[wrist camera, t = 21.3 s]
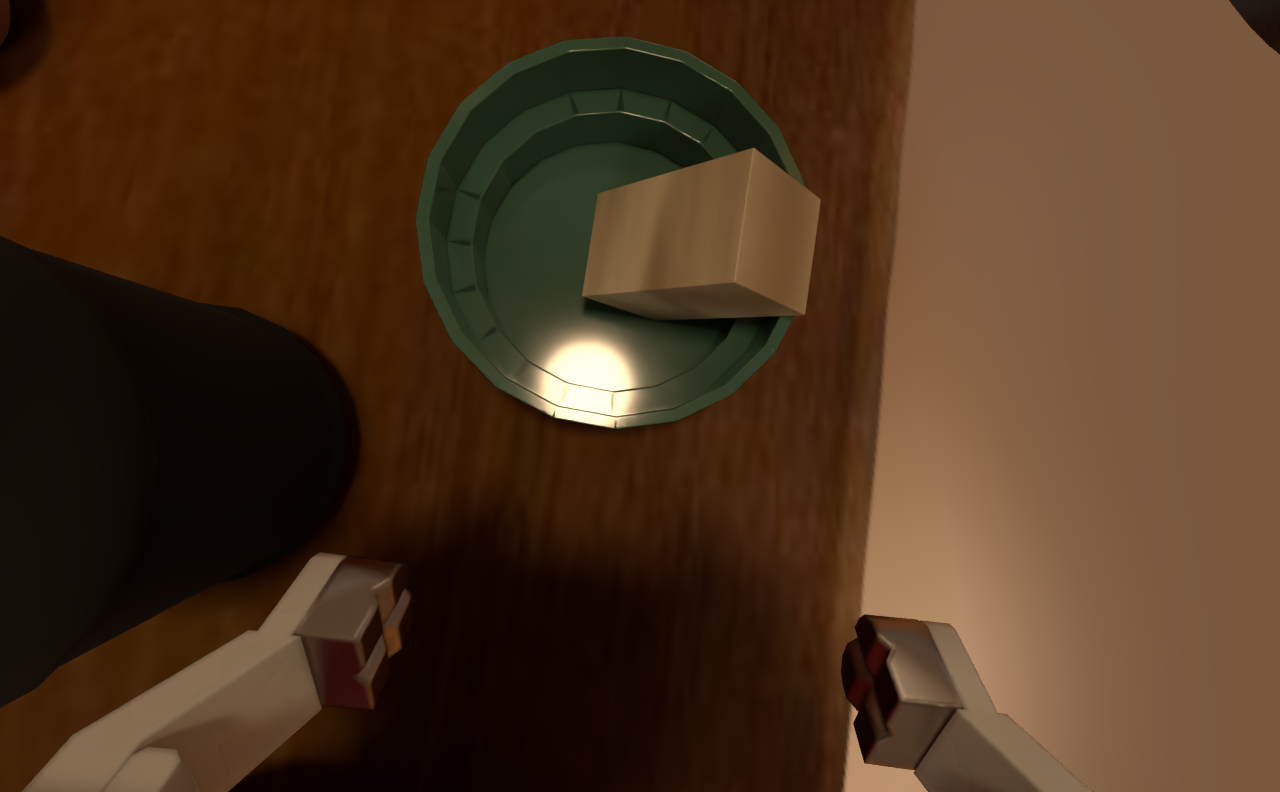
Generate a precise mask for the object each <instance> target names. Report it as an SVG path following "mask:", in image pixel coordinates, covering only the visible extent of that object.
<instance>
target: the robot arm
mask: <svg viewBox="0 0 1280 792" xmlns="http://www.w3.org/2000/svg"><path fill="white" fill-rule="evenodd" d="M409 578H410V575H409V570H408V565H407V564H403V563H397V562H390V561H383V560H375V559H368V558H361V557H354V556H345V555H337V554H330V553H322V552H319V553H318V554H316V555H315V556H313V557H312V558H311V559H310V560H309V561H308V562H307V564H306V565H305V567H304V568H303V569H302V571H301V572H300V573H299V575H298V576H297V577H296V579H295V580H294V582H293V583H292V584H291V586H290V587H289V588H288V590H287V591H286V593H285V594H284V595H283V597H282V598H281V599H280V601H279V602H278V603H277V605H276V606H275V608H274V609H273V610H272V612H271V613H270V614H269V616H268V617H267V619H266V620H265V621H264V623H263V624H262V625H261V627H260V628H259V630H258V631H251V630H248V631H246V632H245V633H243V634H241V635H240V636H238V637H236V638H235V639H233V640H231V641H230V642H228V643H226V644H225V645H223V646H221V647H220V648H218V649H216V650H214V651H213V652H211V653H209V654H208V655H206V656H204V657H203V658H201V659H199V660H198V661H196V662H194V663H193V664H191V665H189V666H188V667H186V668H184V669H183V670H181V671H179V672H178V673H176V674H174V675H173V676H171V677H169V678H167V679H166V680H164V681H162V682H161V683H159V684H157V685H156V686H154V687H152V688H151V689H149V690H147V691H146V692H144V693H142V694H141V695H139V696H137V697H136V698H134V699H132V700H131V701H129V702H127V703H126V704H124V705H122V706H121V707H119V708H117V709H115V710H114V711H112V712H110V713H109V714H107V715H105V716H104V717H102V718H100V719H99V720H97V721H95V722H94V723H92V724H90V725H89V726H87V727H85V728H84V729H82V730H80V731H79V732H77V733H75V734H74V735H72V736H71V737H70V738H69V740H68V741H67V742H66V743H65V744H64V745H63V746H62V747H61V749H60V750H59V751H58V752H57V753H56V754H55V755H54V756H53V757H52V759H51V760H50V761H49V762H48V763H47V764H46V765H45V766H44V768H43V769H42V770H41V771H40V772H39V773H38V774H37V775H36V777H35V778H34V779H33V780H32V781H31V782H30V783H29V784H28V786H27V787H26V788H25V789H24V790H23V791H22V792H228V791H229V790H231V789H232V788H233V787H234V786H235V785H236V784H237V783H238V782H240V781H241V780H242V779H243V778H244V777H245V776H246V775H248V774H249V773H250V772H251V771H252V770H253V769H254V768H255V767H257V766H258V765H259V764H260V763H261V762H262V761H263V760H265V759H266V758H267V757H268V756H269V755H270V754H271V753H272V752H274V751H275V750H276V749H277V748H278V747H279V746H280V745H282V744H283V743H284V742H285V741H286V740H287V739H288V738H290V737H291V736H292V735H293V734H294V733H295V732H296V731H297V730H299V729H300V728H301V727H302V726H303V725H304V724H305V723H307V722H308V721H309V720H310V719H311V718H312V717H313V716H314V715H316V714H317V713H318V712H319V711H320V710H321V709H322V706H333V707H345V708H358V709H370V710H374V708H375V705H376V703H377V701H378V699H379V697H380V695H381V692H382V690H383V688H384V686H385V684H386V682H387V680H388V677H389V675H390V673H391V671H390V666H389V660H388V659H389V658H390V657H391V656H393V655H394V654H396V653H397V652H398V651H400V650H401V649H402V647H403V645H404V642H405V640H406V638H407V635H408V633H409V629H410V625H411V621H412V617H413V605H414V604H413V596H412V594H411V593H410V592H409V591H408V590H407V589H406V588H405V587H406V584H407V582H408V580H409ZM855 630H856V633H857V637H858V638H856V639H854V640H853V641H851V642H849V643H847V646H846V648H845V651H844V653H843V656H842V666H841V674H842V683H843V687H844V691H845V695H846V698H847V700H848V701H849V702H850V703H851V704H852V705H853V706H854V707H855V708H856V710H857V711H858V714H857V716H856V719H855V721H854V723H853V724H854V728H855V731H856V735H857V738H858V742H859V745H860V749H861V753H862V756H863V760H864V763H866V764H874V765H880V766H888V767H895V768H902V769H909V770H915V772H914V774H915V775H916V777H917V778H918V779H919V780H920V782H921V783H922V784H923V786H924V787H925V788H926V790H927V791H928V792H1093V791H1092V790H1090V789H1089V788H1088V787H1087V786H1086V785H1084V783H1082V781H1080V780H1079V779H1078V778H1077V777H1076V776H1075V775H1074V774H1073V773H1072V772H1070V771H1069V770H1068V769H1067V768H1066V767H1065V766H1064V765H1063V764H1062V763H1060V762H1059V761H1058V760H1057V759H1056V758H1055V757H1054V756H1053V755H1051V754H1050V753H1049V752H1048V751H1047V750H1046V749H1045V748H1044V747H1043V746H1041V745H1040V744H1039V743H1038V742H1037V741H1036V740H1035V739H1034V738H1033V737H1031V736H1030V735H1029V734H1028V733H1027V732H1026V731H1025V730H1024V729H1023V728H1021V727H1020V726H1019V725H1018V724H1017V723H1016V722H1015V721H1014V720H1012V719H1011V718H1010V717H1009V716H1008V715H1007V714H1001V713H998V712H997V710H996V708H995V706H994V704H993V702H992V700H991V698H990V696H989V694H988V692H987V691H986V689H985V687H984V685H983V683H982V681H981V679H980V677H979V675H978V673H977V671H976V669H975V667H974V665H973V663H972V661H971V659H970V657H969V655H968V653H967V651H966V649H965V647H964V645H963V644H962V641H961V639H960V638H959V636H958V634H957V632H956V630H955V629H954V628H953V627H952V626H951V625H950V624H947V623H937V622H929V621H918V620H915V619H905V618H895V617H885V616H875V615H863V616H862V617H860V618H859V620H858V622H857V624H856V626H855Z"/></svg>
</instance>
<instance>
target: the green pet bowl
mask: <svg viewBox="0 0 1280 792" xmlns="http://www.w3.org/2000/svg"><path fill="white" fill-rule="evenodd" d="M751 148H755V149H756V150H757V151H759V152H760V153H761V154H763V155H764V156H765V157H766V158H768V159H769V160H770V161H772V162H773V163H774V164H776V165H777V166H778V167H779V168H781V169H782V170H783V171H785V172H786V173H787V174H788V175H790V176H791V177H792V178H794V179H795V180H796V181H798V182H799V183H800V184H801V185H803V186H804V187H805V184H804V181H803V179H802V176H801V174H800V172H799V170H798V168H797V166H796V164H795V161H794V159H793V157H792V155H791V153H790V151H789V149H788V146H787V144H786V142H785V140H784V138H783V136H782V134H781V131H780V129H778V126H777V125H776V124H775V123H774V122H773V121H772V120H771V119H770V118H769V116H768V115H767V114H766V113H765V112H764V111H763V110H762V109H761V108H760V106H759V105H758V104H757V103H756V102H755V101H754V100H753V99H752V98H751V96H750V95H749V94H748V93H747V92H746V91H745V90H744V89H743V88H742V86H741V85H740V84H739V83H738V84H737V82H736V81H734V80H733V79H731V78H729V77H728V76H726V75H725V74H723V73H721V72H720V71H718V70H716V69H715V68H713V67H711V66H710V65H708V64H706V63H705V62H703V61H701V60H700V59H698V58H696V57H695V56H693V55H691V54H690V53H688V52H685V51H683V50H679V49H675V48H671V47H667V46H663V45H659V44H655V43H651V42H647V41H643V40H639V39H635V38H631V37H625V36H623V37H607V38H591V39H575V40H565V41H561V42H559V43H556V44H554V45H551V46H549V47H546V48H544V49H541V50H539V51H536V52H534V53H531V54H529V55H526V56H524V57H521V58H518V59H516V60H513V61H511V62H509V63H508V64H505V65H504V66H503V67H502V68H501V69H500V70H498V71H497V72H496V73H495V74H494V75H492V76H491V77H490V78H489V79H488V80H487V81H485V82H484V83H483V84H482V85H481V86H479V87H478V88H477V89H476V90H475V91H474V92H472V93H471V94H470V95H469V96H468V97H466V98H465V99H464V100H463V101H462V102H461V104H459V106H458V107H457V109H456V111H455V112H454V114H453V116H452V117H451V119H450V121H449V123H448V124H447V126H446V128H445V129H444V131H443V133H442V134H441V136H440V138H439V139H438V141H437V143H436V144H435V146H434V148H433V149H432V151H431V153H430V154H429V157H428V160H427V164H426V169H425V174H424V179H423V184H422V188H421V193H420V198H419V203H418V208H417V212H416V220H415V221H416V229H417V237H418V245H419V253H420V262H421V270H422V278H423V282H424V285H425V287H426V289H427V291H428V294H429V296H430V298H431V300H432V302H433V304H434V306H435V308H436V310H437V312H438V314H439V317H440V319H441V321H442V323H443V325H444V327H445V329H446V331H447V333H448V335H449V338H450V339H451V340H452V342H453V343H454V344H455V345H456V346H457V347H458V348H459V349H460V351H461V352H462V353H463V354H464V355H465V356H466V357H467V358H468V359H469V360H470V361H471V362H472V363H473V364H474V365H475V366H476V367H477V368H478V369H479V370H480V371H481V372H482V374H483V375H484V376H485V377H486V378H487V379H488V380H489V381H490V382H491V383H492V384H493V385H494V386H495V387H497V388H498V389H500V390H501V391H503V392H505V393H507V394H509V395H511V396H513V397H514V398H516V399H518V400H520V401H522V402H524V403H526V404H527V405H529V406H531V407H533V408H535V409H537V410H539V411H540V412H542V413H544V414H546V415H548V416H550V417H553V418H555V419H560V420H566V421H571V422H576V423H582V424H587V425H593V426H598V427H604V428H609V429H623V428H631V427H638V426H646V425H653V424H661V423H668V422H675V421H679V420H681V419H683V418H685V417H687V416H689V415H691V414H693V413H695V412H697V411H699V410H701V409H703V408H705V407H707V406H710V405H712V404H714V403H716V402H718V401H720V400H722V399H724V398H726V397H728V396H730V395H731V394H733V393H734V392H735V391H736V390H737V389H738V388H739V387H740V386H741V385H742V384H743V383H744V382H745V381H746V380H747V379H748V378H750V377H751V376H752V375H753V374H754V373H755V372H756V371H757V370H758V369H759V368H760V367H761V366H762V365H763V364H764V363H765V362H766V361H767V360H768V359H769V358H770V357H771V356H772V355H773V354H774V352H776V350H777V348H778V346H779V344H780V342H781V340H782V338H783V336H784V335H785V333H786V331H787V329H788V327H789V325H790V323H791V321H792V319H793V317H794V315H793V316H766V317H738V318H711V319H684V320H657V321H655V320H652V319H649V318H646V317H643V316H640V315H637V314H634V313H631V312H628V311H625V310H622V309H619V308H616V307H613V306H610V305H607V304H604V303H601V302H598V301H595V300H592V299H589V298H586V297H583V296H582V292H583V286H584V279H585V273H586V267H587V260H588V254H589V247H590V241H591V235H592V228H593V222H594V216H595V209H596V203H597V196H598V193H601V192H604V191H608V190H611V189H615V188H618V187H621V186H625V185H628V184H632V183H635V182H639V181H642V180H645V179H649V178H652V177H656V176H659V175H662V174H666V173H669V172H673V171H676V170H679V169H683V168H686V167H690V166H693V165H697V164H700V163H703V162H707V161H710V160H714V159H717V158H720V157H724V156H727V155H731V154H734V153H737V152H741V151H744V150H748V149H751Z"/></svg>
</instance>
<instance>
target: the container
mask: <svg viewBox="0 0 1280 792" xmlns="http://www.w3.org/2000/svg"><path fill="white" fill-rule="evenodd" d="M347 440H348V437H347V432H346V426H345V421H344V416H343V410H342V405H341V400H340V396H339V394H338V392H337V391H336V389H335V387H334V385H333V384H332V382H331V380H330V378H329V377H328V375H327V373H326V371H325V370H324V368H323V366H322V364H321V363H320V361H319V359H318V358H316V357H315V356H314V355H313V354H312V353H311V352H310V351H309V350H308V349H306V348H305V347H304V346H303V345H302V344H301V343H300V342H299V341H298V340H297V339H295V338H294V337H293V336H292V335H291V334H290V333H289V332H288V331H287V330H285V329H284V328H283V327H280V326H278V325H276V324H274V323H272V322H270V321H267V320H265V319H263V318H261V317H259V316H256V315H254V314H252V313H250V312H248V311H245V310H243V309H241V308H234V307H226V306H219V305H212V304H205V303H197V302H194V301H191V300H187V299H184V298H181V297H178V296H175V295H172V294H169V293H166V292H163V291H160V290H156V289H153V288H150V287H147V286H144V285H141V284H138V283H135V282H132V281H129V280H125V279H122V278H119V277H116V276H113V275H110V274H107V273H104V272H101V271H98V270H94V269H91V268H88V267H85V266H82V265H79V264H76V263H73V262H70V261H67V260H63V259H60V258H57V257H54V256H51V255H48V254H45V253H42V252H39V251H35V250H32V249H29V248H26V247H24V246H22V245H19V244H17V243H15V242H13V241H11V240H8V239H6V238H4V237H2V236H0V708H1V707H3V706H5V705H6V704H8V703H10V702H12V701H14V700H16V699H17V698H19V697H21V696H23V695H25V694H27V693H29V692H30V691H32V690H34V689H36V688H37V687H38V686H39V685H40V684H41V683H42V682H43V681H45V680H46V679H47V678H48V677H49V676H50V675H51V674H52V673H53V672H54V671H55V670H56V669H57V668H58V667H59V666H61V665H63V664H65V663H67V662H69V661H71V660H73V659H74V658H76V657H78V656H80V655H82V654H84V653H86V652H88V651H90V650H92V649H93V648H95V647H97V646H99V645H101V644H103V643H105V642H107V641H109V640H110V639H112V638H114V637H116V636H118V635H120V634H122V633H124V632H126V631H128V630H129V629H131V628H133V627H135V626H137V625H139V624H141V623H143V622H145V621H147V620H148V619H150V618H152V617H154V616H156V615H158V614H160V613H162V612H164V611H165V610H167V609H169V608H171V607H173V606H175V605H177V604H179V603H181V602H182V601H184V600H186V599H188V598H190V597H192V596H194V595H196V594H198V593H200V592H201V591H203V590H205V589H207V588H209V587H211V586H213V585H215V584H217V583H220V582H225V581H230V580H234V579H239V578H244V577H247V576H249V575H250V574H252V573H254V572H256V571H258V570H260V569H261V568H263V567H265V566H267V565H269V564H271V563H272V562H274V561H276V560H278V559H280V558H282V557H284V556H285V555H287V554H288V553H289V552H290V551H291V550H292V549H293V548H294V547H295V546H296V545H297V544H298V543H299V542H300V541H301V540H302V539H303V538H304V537H305V536H306V535H307V534H308V533H309V532H310V531H311V530H312V529H313V528H314V527H315V526H316V525H317V524H318V523H319V522H320V521H321V520H322V518H323V516H324V514H325V512H326V510H327V508H328V506H329V504H330V502H331V500H332V498H333V496H334V494H335V492H336V490H337V488H338V486H339V484H340V482H341V480H342V474H343V467H344V460H345V453H346V447H347Z"/></svg>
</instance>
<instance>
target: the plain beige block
mask: <svg viewBox="0 0 1280 792" xmlns="http://www.w3.org/2000/svg"><path fill="white" fill-rule="evenodd" d="M820 202H821V200H820V198H818V197H817V196H816V195H814V194H813V193H812V192H810V191H809V190H808V189H807V188H805V187H804V186H803V185H801V184H800V183H799V182H798V181H796V180H795V179H794V178H792V177H791V176H790V175H788V174H787V173H786V172H785V171H783V170H782V169H781V168H779V167H778V166H777V165H776V164H774V163H773V162H772V161H770V160H769V159H768V158H766V157H765V156H764V155H763V154H761V153H760V152H759V151H757V150H756V149H755V148H751V149H748V150H744V151H741V152H737V153H734V154H731V155H727V156H724V157H720V158H717V159H714V160H710V161H707V162H703V163H700V164H697V165H693V166H690V167H686V168H683V169H679V170H676V171H673V172H669V173H666V174H662V175H659V176H656V177H652V178H649V179H645V180H642V181H639V182H635V183H632V184H628V185H625V186H621V187H618V188H615V189H611V190H608V191H604V192H601V193H598V196H597V203H596V209H595V216H594V222H593V228H592V235H591V241H590V247H589V254H588V260H587V267H586V273H585V279H584V286H583V292H582V296H583V297H586V298H589V299H592V300H595V301H598V302H601V303H604V304H607V305H610V306H613V307H616V308H619V309H622V310H625V311H628V312H631V313H634V314H637V315H640V316H643V317H646V318H649V319H652V320H655V321H657V320H684V319H711V318H738V317H766V316H793V315H805V311H806V304H807V297H808V290H809V282H810V275H811V268H812V260H813V253H814V246H815V239H816V231H817V224H818V217H819V209H820Z"/></svg>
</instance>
